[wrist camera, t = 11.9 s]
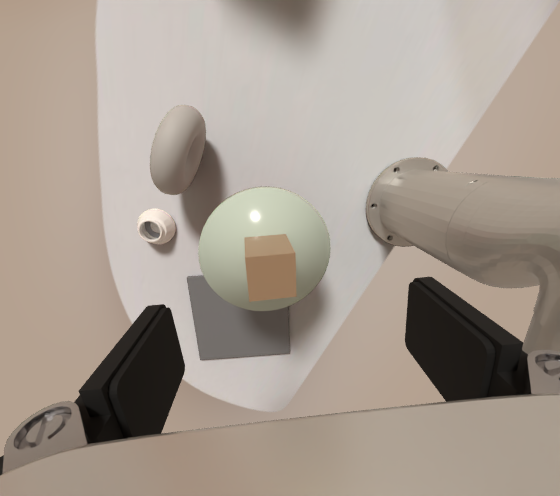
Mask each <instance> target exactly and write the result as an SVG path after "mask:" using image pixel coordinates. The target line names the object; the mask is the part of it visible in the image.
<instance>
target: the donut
mask: <svg viewBox="0 0 560 496" xmlns="http://www.w3.org/2000/svg"><path fill="white" fill-rule="evenodd" d="M205 140H206V128H205V121H204V119H203V117H202V115H201V114H200V112H199V111H198V110H197V109H195V108H194V107H192V106H188V105H178V106H176V107H174V108H173V109H171V110H170V111H169V112H168V113H167V114H166V116H165V117H164V118H163V120H162V121H161V123H160V125H159V127H158V129H157V132H156V134H155V137H154V141H153V144H152V149H151V155H150V172H151V177H152V180H153V182H154V184H155V185H156V187H157V188H158V189H159V190H160V191H161V192H163V193H165V194H169V195H178V194H180V193H182V192H183V191H185V190H186V189H187V188H188V187H189V185H190V184H191V183H192V181H193V179H194V177H195V175H196V173H197V170H198V168H199V165H200V162H201V159H202V155H203V151H204V146H205Z"/></svg>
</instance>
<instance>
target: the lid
mask: <svg viewBox="0 0 560 496" xmlns="http://www.w3.org/2000/svg"><path fill="white" fill-rule="evenodd" d="M198 255H199V263H200V267H201V270H202V273H203V275H204V277H205V279H206V281H207V283H208V284H209V285H210V287H211V288H212V289H213V290H214V291H215V292H216V293H217V294H218V295H219V296H220V297H221V298H223V299H224V300H225V301H227V302H229V303H231V304H233V305H235V306H237V307H240V308H243V309H247V310H253V311H272V310H277V309H281V308H285V307H287V306H290V305H292V304H294V303H296V302H298V301H300V300H301V299H303V298H304V297H305V296H307V295H308V294H309V293H310V292H311V291H312V290H313V289H314V288H315V287H316V286H317V284H318V283H319V282H320V280H321V279H322V277H323V275H324V273H325V271H326V268H327V266H328V262H329V258H330V238H329V233H328V230H327V227H326V224H325V222H324V220H323V218H322V217H321V216H320V214H319V213H318V211H317V210H316V209H315V208H314V207H313V206H312V205H311V204H310V203H308V202H307V201H306V200H305V199H304V198H302V197H300V196H299V195H297V194H295V193H293V192H291V191H288V190H285V189H282V188H277V187H254V188H249V189H246V190H243V191H240V192H238V193H235V194H234V195H232V196H230V197H228V198H227V199H226V200H224V201H223V202H222V203H220V204H219V205H218V206H217V208H216V209H215V210H214V211H213V212H212V214H211V215H210V216H209V218H208V220H207V222H206V223H205V225H204V228H203V230H202V233H201V236H200V241H199V249H198Z"/></svg>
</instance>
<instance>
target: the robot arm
mask: <svg viewBox="0 0 560 496" xmlns="http://www.w3.org/2000/svg"><path fill="white" fill-rule="evenodd" d="M433 167H434V169H433ZM394 168H395V171H393V170H394ZM372 204H373V206H372V207H371V205H372ZM366 214H367V219H368V222H369V225H370V227H371V228H372V230H373V231H374V233H375V234H376V235H377V236H378V237H380V238H381V239H382V240H384V241H385V242H387V243H389V244H392V245H395V246H402V247H405V246H416V247H418V248H419V249H421V250H423V251H424V252H426V253H428V254H430V255H432V256H433V257H435V258H437V259H439V260H440V261H442V262H444V263H445V264H447V265H449V266H450V267H452V268H454V269H456V270H457V271H459V272H461V273H463V274H465V275H466V276H468V277H470V278H472V279H474V280H476V281H478V282H480V283H483V284H486V285H489V286H493V287H500V288H524V287H531V286H537V285H540V290H539V294H538V297H537V301H536V304H535V307H534V314H533V317H532V320H531V323H530V326H529V329H528V331H527V334H526V337H525V340H524V343H523V342H521V341H520V340H519V339H517V338H516V337H515V336H513V335H512V334H510V333H509V332H508V331H506V330H505V329H503V328H502V327H501V326H499V325H498V324H496V323H495V322H494V321H492V320H491V319H489V318H488V317H487V316H485V315H484V314H482V313H481V312H480V311H478V310H477V309H476V308H474V307H472V306H471V305H470V304H468V303H467V302H466V301H464V300H463V299H461V298H460V297H459V296H457V295H456V294H455V293H453V292H452V291H450V290H449V289H448V288H446V287H445V286H443V285H442V284H441V283H439V282H438V281H436V280H435V279H434V278H432V277H424V278H415V279H414V280H413V282H411V283H410V284H409V292H408V307H407V320H406V333H405V343H406V347H407V349H408V350H409V352H410V353H411V355H412V356H413V357H414V359H415V360H416V361H417V363H418V364H419V365H420V367H421V368H422V369H423V371H424V372H425V373H426V375H427V376H428V377H429V379H430V380H431V382H432V383H433V384H434V386H435V387H436V388H437V389H438V391H439V392H440V394H441V395H442V396H443V398H444V399H445V400H446V402H438V403H429V404H420V405H410V406H401V407H391V408H382V409H372V410H363V411H353V412H344V413H335V414H326V415H318V416H309V417H299V418H290V419H281V420H273V421H264V422H255V423H247V424H238V425H230V426H222V427H213V428H204V429H196V430H188V431H180V432H171V433H162V434H161V432H162V430H163V427H164V424H165V422H166V419H167V416H168V413H169V411H170V408H171V406H172V403H173V401H174V398H175V396H176V393H177V390H178V388H179V385H180V383H181V380H182V377H183V375H184V371H185V364H184V360H183V356H182V352H181V348H180V344H179V340H178V336H177V332H176V328H175V324H174V320H173V316H172V312H171V309H170V308H166V306H165V305H164V304H162V305H152V306H147V307H146V308H145V310H144V311H143V312H142V313H141V314H140V316H139V317H138V318H137V319H136V321H135V322H134V323H133V324H132V326H131V327H130V328H129V330H128V331H127V332H126V333H125V334H124V335H123V337H122V338H121V339H120V341H119V342H118V343H117V344H116V345H115V347H114V348H113V349H112V350H111V352H110V353H109V354H108V355H107V357H106V358H105V359H104V360H103V361H102V363H101V364H100V365H99V367H98V368H97V369H96V370H95V371H94V373H93V374H92V375H91V376H90V378H89V379H88V380H87V381H86V383H85V384H84V385H83V386H82V388H81V389H80V390H79V393H80V396H79V397H78V398H77V399H76V401H75V402H70V401H67V402H60V403H56V404H52V405H50V406H48V407H46V408H43V409H41V410H40V411H38V412H36V413H35V414H33V415H31V416H30V417H29V418H27V419H26V420H25V421H23V422H22V423H21V424H20V425H19V426H18V427H17V428H16V429H15V430H14V431H13V432H12V434H11V435H10V436H9V438H8V439H7V442H6V445H5V448H4V455H3V456H2V457H0V496H560V179H558V178H557V179H556V178H534V177H519V176H499V175H485V174H472V173H458V172H448V171H447V169H446V168H445V167H443V166H442V165H441V164H440V163H438V162H436V161H434V160H431V159H428V158H418V157H417V158H407V159H403V160H400V161H398V162H396V163H394V164H392V165H391V166H389V167H388V168H386V169H385V170H384V171H383V172H382V173H381V174H380V175H379V176H378V177H377V179H376V180H375V181H374V183H373V185H372V187H371V189H370V191H369V194H368V197H367V203H366ZM388 236H389V237H388ZM387 237H388V238H387Z"/></svg>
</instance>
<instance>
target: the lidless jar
mask: <svg viewBox="0 0 560 496" xmlns="http://www.w3.org/2000/svg"><path fill="white" fill-rule="evenodd" d="M147 221H151V223H150V227H151V229H152V230H153V231H154V232H156V233H160V236H159V238H155V237H152V236H151V235H150V234H148V232H147V231H146V229H145V222H147ZM137 227H138V233H139V235H140V236H141V238H142V239H144V240H145V241H147V242H150V243H153V244H164V243H166V242H168V241H170V240H171V239H172V237H173V236H174V234H175V230H176V227H175V222H174V220H173V219H172V217H171V216H170V215H169V214H168V213H167V212H165V211H163V210H160V209H149V210H147V211H145V212H143V213H142V214H141V215H140V217H139V218H138V223H137Z"/></svg>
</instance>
